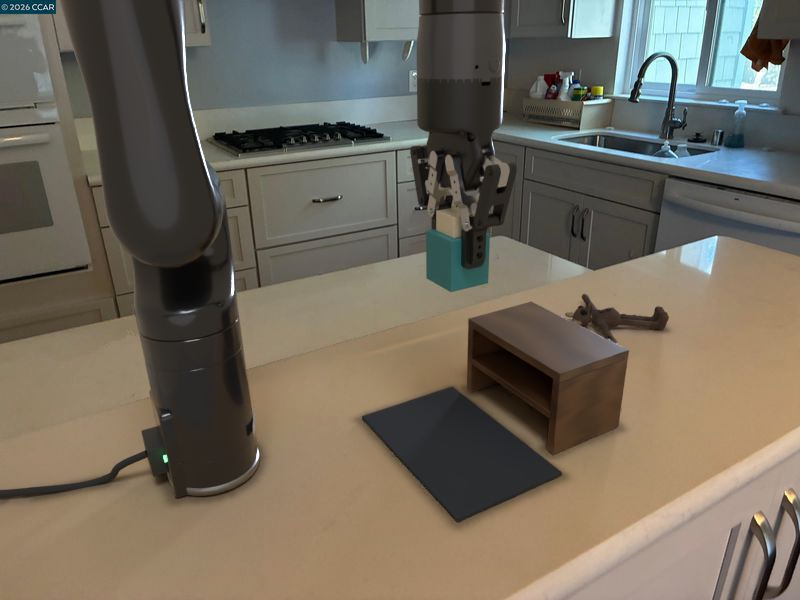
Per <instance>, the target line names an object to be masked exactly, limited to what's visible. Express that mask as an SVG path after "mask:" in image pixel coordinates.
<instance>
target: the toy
mask: <svg viewBox="0 0 800 600" xmlns="http://www.w3.org/2000/svg"><path fill="white" fill-rule="evenodd" d="M475 213H476V210H473V209H472V215H473V216H475ZM461 230H464V229H463V227H462V221H461V215H460V209H459V207H458V206H455V208H449V209H444V210H438V211H436V229H432V228H431V229H426V231H425V253H426V254H425V256H426V257H425V260H426V261H425V262H426V263H425V266H426V267H425V268H426V273H425V275H426V279H427V280H428V281H430V282H432V283H434V284H436V285H437V286H439V287H441V288H443V289H444V290H446V291H448V292H449V293H454V292H458V291H463V290H467V289H470V288H475V287H479V286H483V285H486V284H489V272H490V249H491V248H490V247H491V234H490V233H488V232H486V247H485V248H486V251H485V252H486V256H485V261H484V264H483V265H482V266H481V267H477V268H473V269H466V268H464V267H462V266H461Z"/></svg>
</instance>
